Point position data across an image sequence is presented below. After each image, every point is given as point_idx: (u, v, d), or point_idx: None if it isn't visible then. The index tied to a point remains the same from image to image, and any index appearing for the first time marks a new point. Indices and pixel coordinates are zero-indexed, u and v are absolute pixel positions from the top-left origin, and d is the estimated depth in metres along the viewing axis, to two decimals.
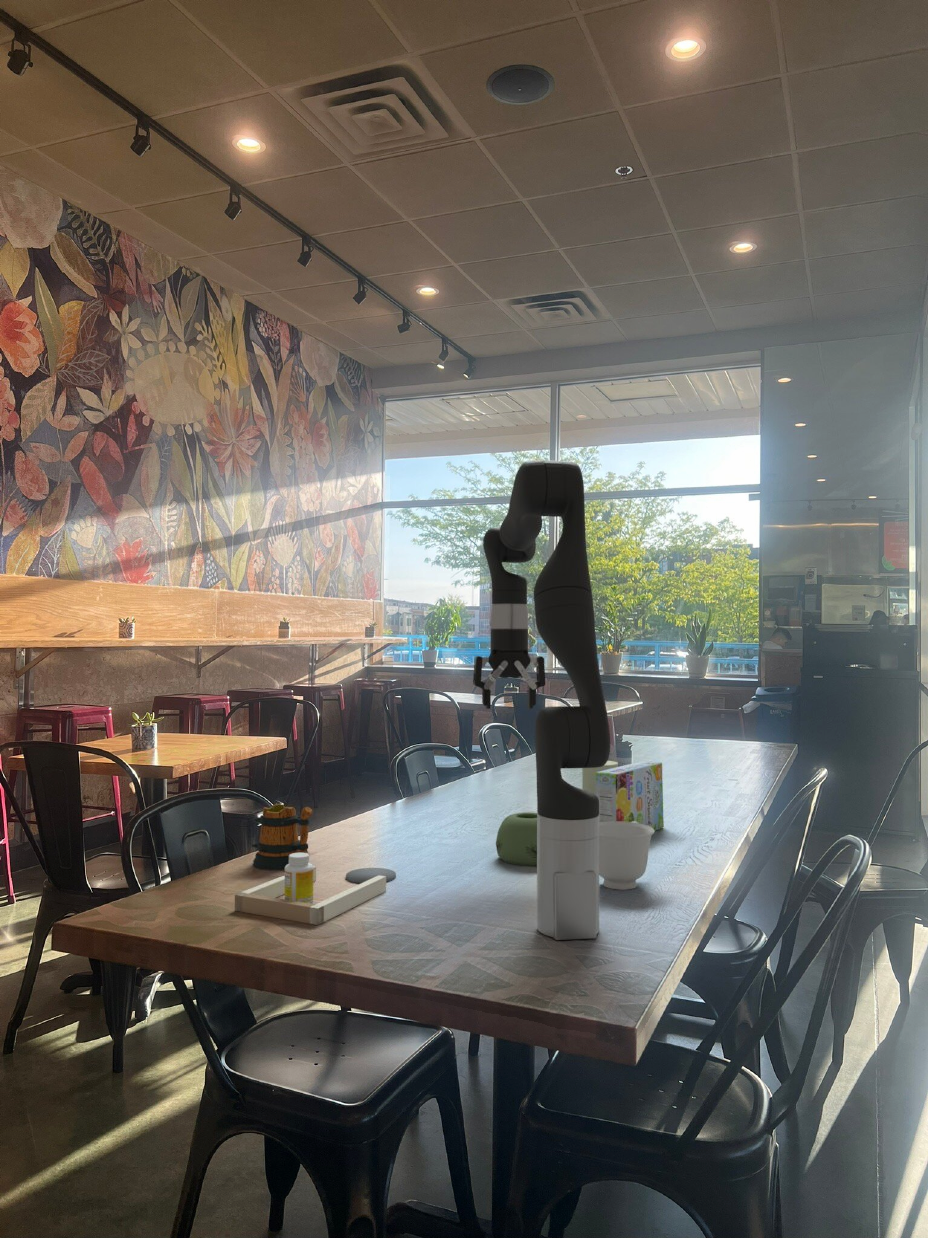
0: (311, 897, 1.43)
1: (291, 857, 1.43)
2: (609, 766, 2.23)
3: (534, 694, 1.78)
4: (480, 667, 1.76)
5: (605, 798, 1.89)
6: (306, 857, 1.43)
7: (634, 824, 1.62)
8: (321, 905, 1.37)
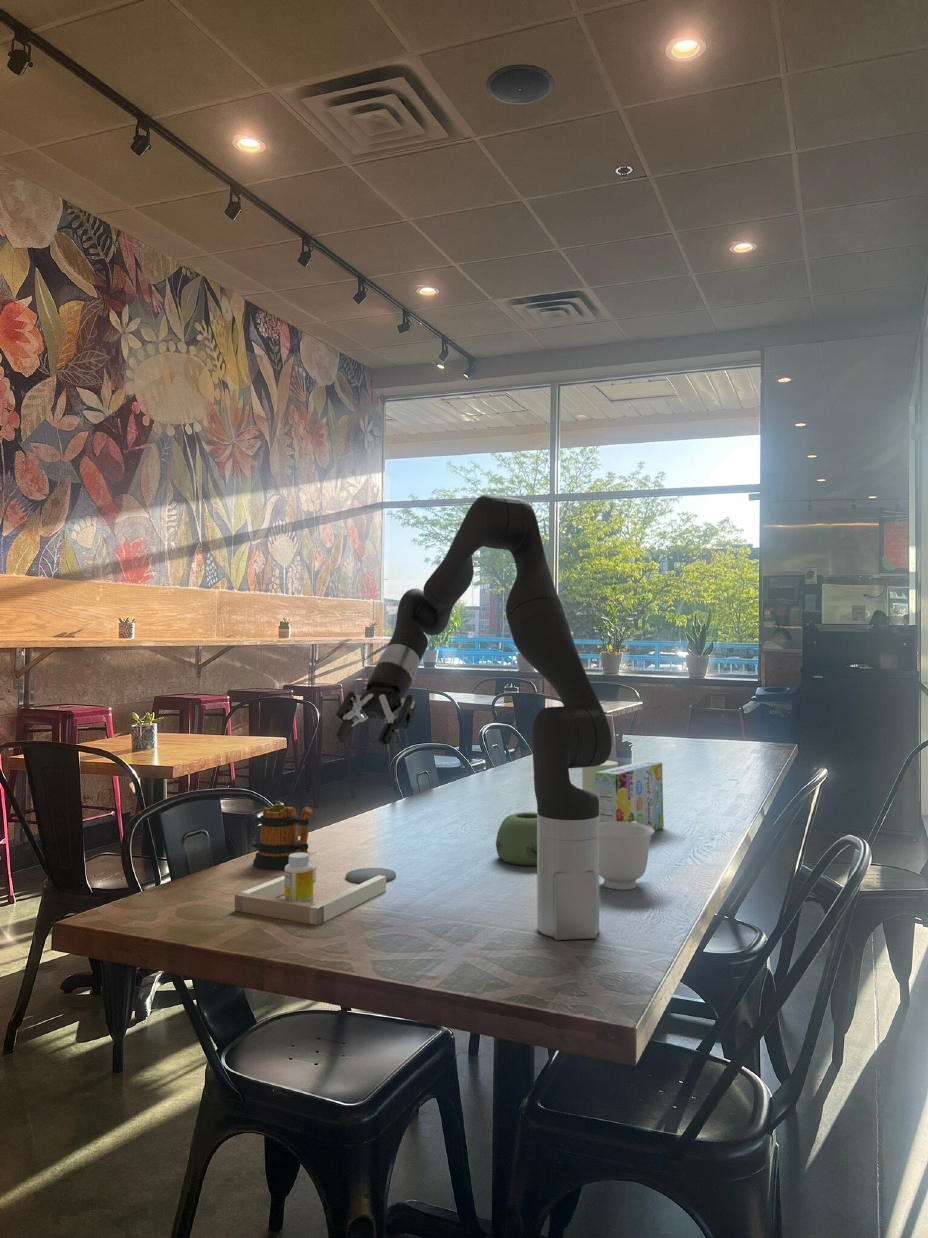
0: (311, 897, 1.43)
1: (291, 857, 1.43)
2: (609, 766, 2.23)
3: (389, 729, 1.58)
4: (348, 700, 1.66)
5: (605, 798, 1.89)
6: (306, 857, 1.43)
7: (634, 824, 1.62)
8: (321, 905, 1.37)
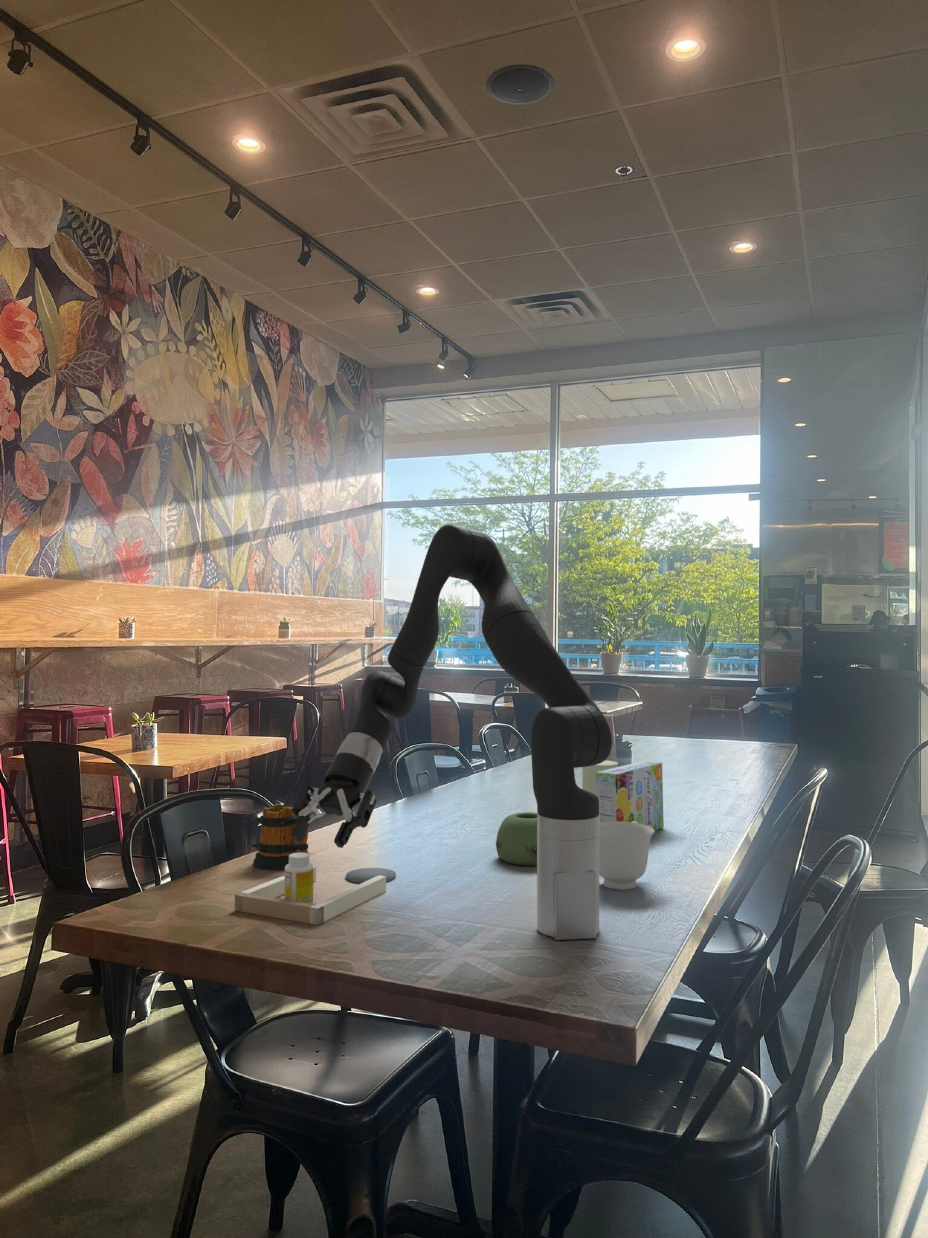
0: (311, 897, 1.43)
1: (291, 857, 1.43)
2: (609, 766, 2.23)
3: (346, 828, 1.48)
4: (305, 794, 1.56)
5: (605, 798, 1.89)
6: (306, 857, 1.43)
7: (634, 824, 1.62)
8: (321, 905, 1.37)
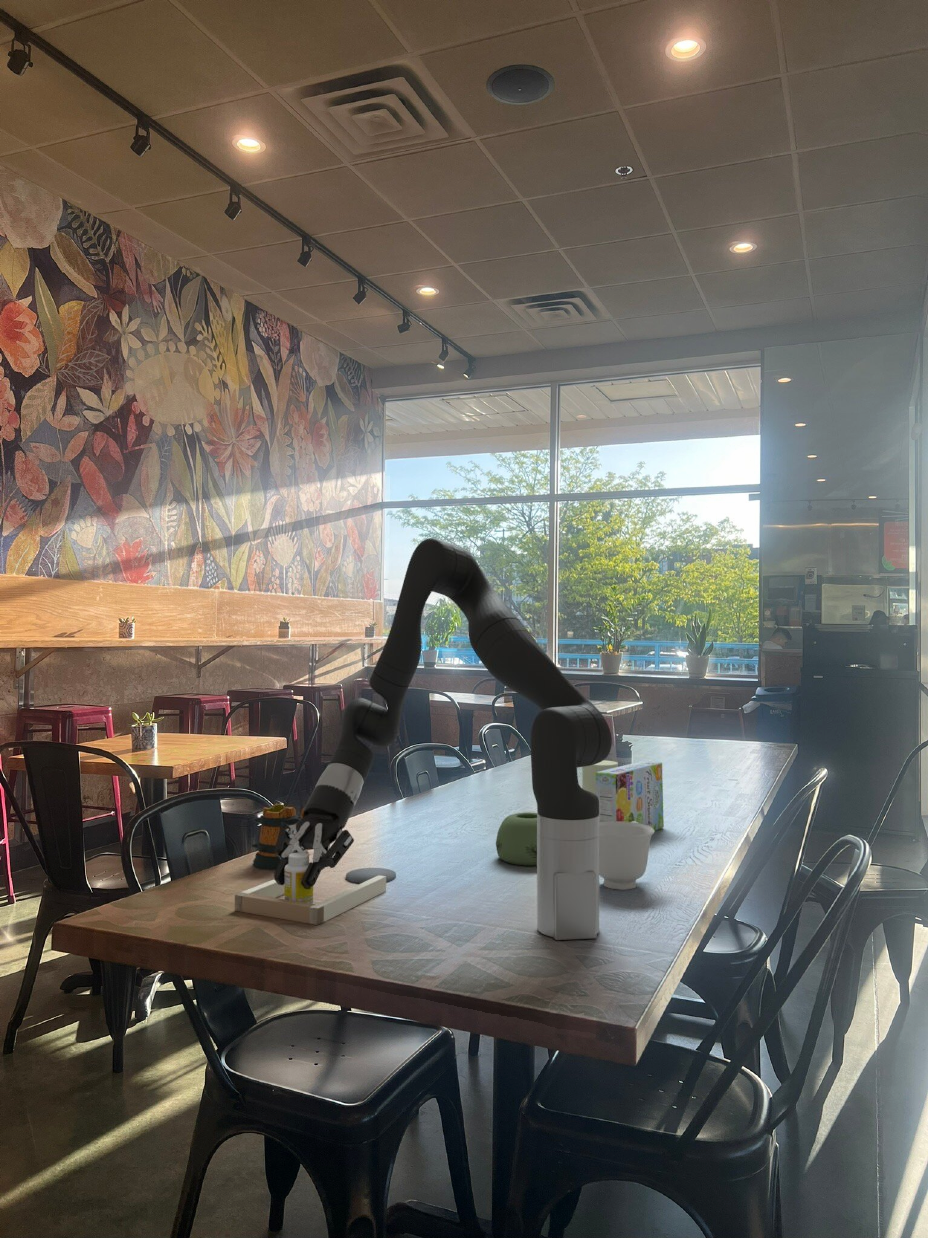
0: (311, 897, 1.43)
1: (291, 857, 1.43)
2: (609, 766, 2.23)
3: (314, 869, 1.42)
4: (283, 833, 1.49)
5: (605, 798, 1.89)
6: (306, 857, 1.43)
7: (634, 824, 1.62)
8: (321, 905, 1.37)
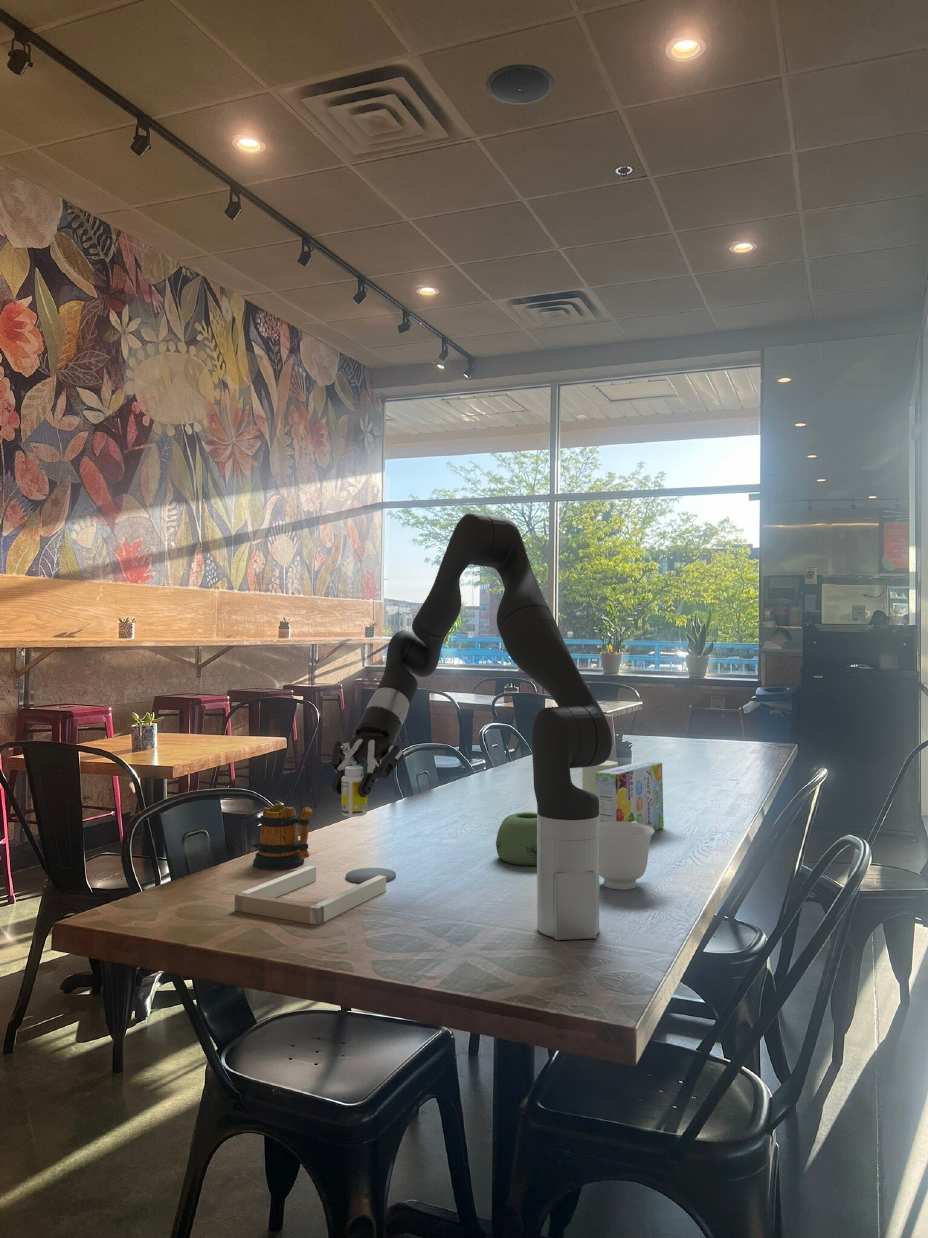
0: (366, 805, 1.57)
1: (347, 768, 1.57)
2: (609, 766, 2.23)
3: (369, 779, 1.56)
4: (338, 749, 1.63)
5: (605, 798, 1.89)
6: (361, 769, 1.57)
7: (634, 824, 1.62)
8: (321, 905, 1.37)
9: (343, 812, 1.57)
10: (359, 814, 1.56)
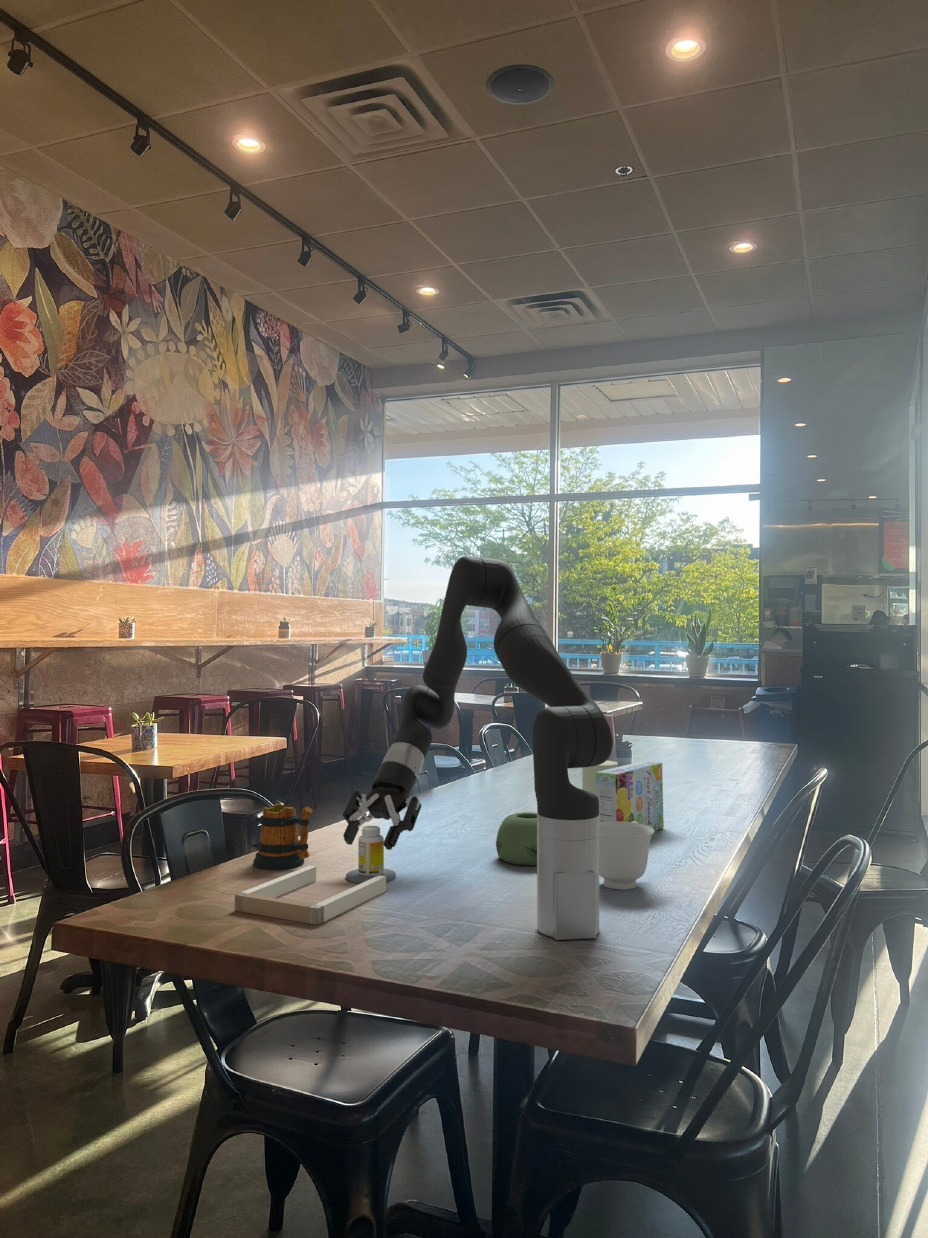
0: (382, 865, 1.61)
1: (364, 829, 1.61)
2: (609, 766, 2.23)
3: (394, 832, 1.60)
4: (354, 800, 1.68)
5: (605, 798, 1.89)
6: (378, 829, 1.61)
7: (634, 824, 1.62)
8: (321, 905, 1.37)
9: (360, 872, 1.61)
10: (376, 874, 1.60)
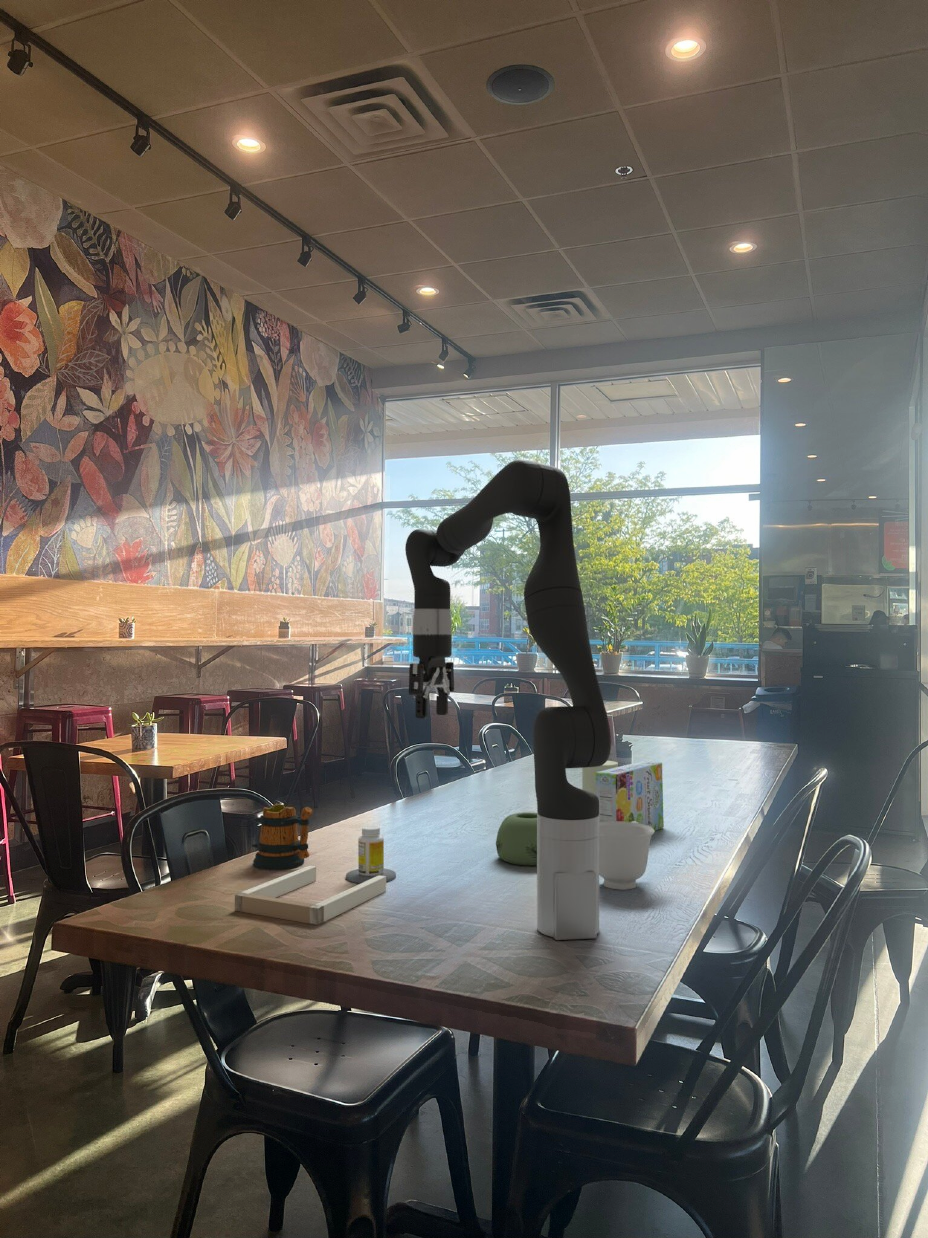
0: (382, 865, 1.61)
1: (364, 829, 1.61)
2: (609, 766, 2.23)
3: None
4: (422, 675, 1.67)
5: (605, 798, 1.89)
6: (377, 829, 1.61)
7: (634, 824, 1.62)
8: (321, 905, 1.37)
9: (360, 872, 1.61)
10: (376, 874, 1.60)
